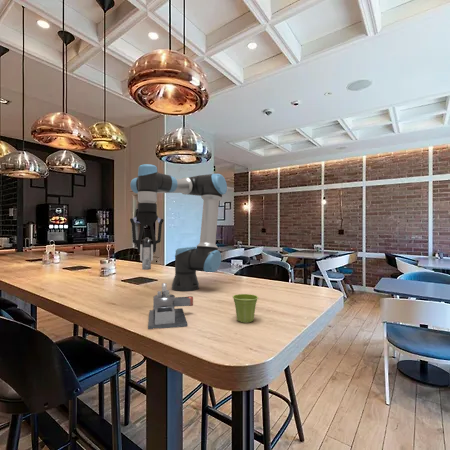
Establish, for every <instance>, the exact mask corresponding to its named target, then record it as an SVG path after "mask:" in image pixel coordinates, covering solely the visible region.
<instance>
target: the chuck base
mask: <svg viewBox="0 0 450 450" xmlns="http://www.w3.org/2000/svg"><path fill="white" fill-rule="evenodd" d="M148 314H149V315H148V325H147V329H148V330H154V329H153V328H159V329H171V328H183V327H184V328H185V327H188V322H187V321H188V320H187V318H186V315H185V311H184V309H183V307H180V308H178V307H177V308H175V310H174V307H160V308H155V314H154V313H153V309H150V310H149V313H148Z"/></svg>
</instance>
